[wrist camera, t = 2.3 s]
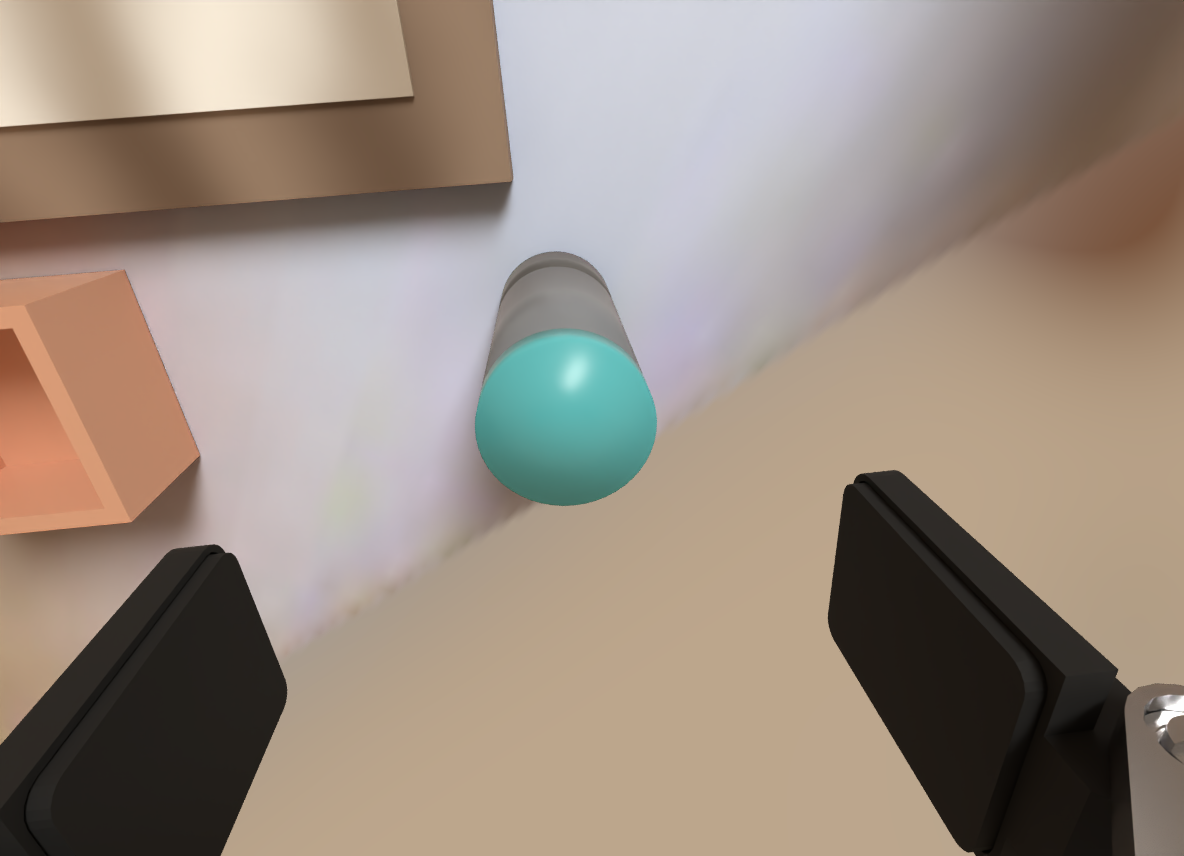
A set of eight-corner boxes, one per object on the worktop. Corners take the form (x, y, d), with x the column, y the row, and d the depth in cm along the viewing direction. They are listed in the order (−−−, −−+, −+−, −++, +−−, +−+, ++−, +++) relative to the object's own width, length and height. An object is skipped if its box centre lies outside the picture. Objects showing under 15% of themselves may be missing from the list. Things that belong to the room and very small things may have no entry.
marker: (607, 246, 22) (654, 334, 13) (613, 354, 23) (658, 496, 14) (493, 256, 21) (461, 352, 13) (508, 363, 23) (488, 513, 14)
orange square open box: (124, 269, 21) (24, 305, 17) (199, 455, 24) (131, 522, 20) (-97, 287, 20) (-252, 328, 16) (9, 473, 24) (-98, 544, 20)
